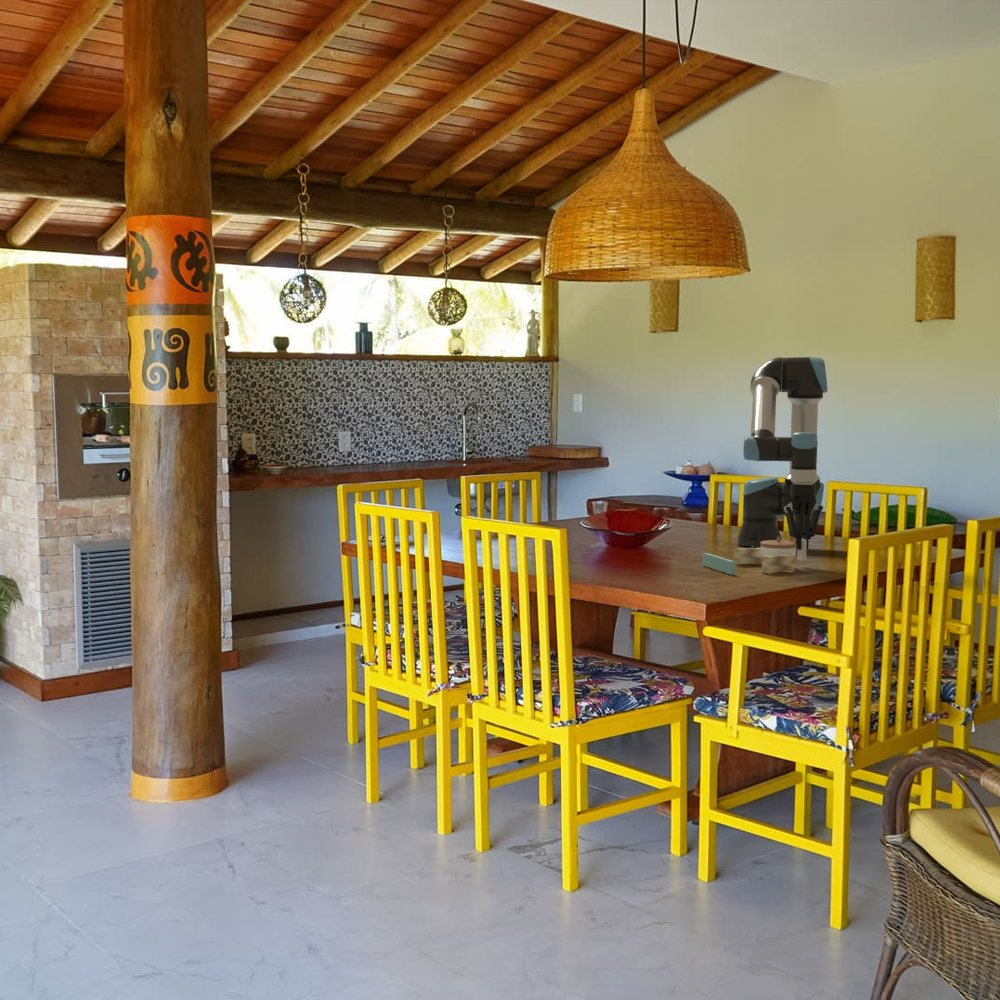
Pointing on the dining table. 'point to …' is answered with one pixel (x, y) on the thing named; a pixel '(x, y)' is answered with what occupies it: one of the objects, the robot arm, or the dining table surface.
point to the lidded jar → (777, 547)
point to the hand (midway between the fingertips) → (801, 560)
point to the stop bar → (718, 563)
